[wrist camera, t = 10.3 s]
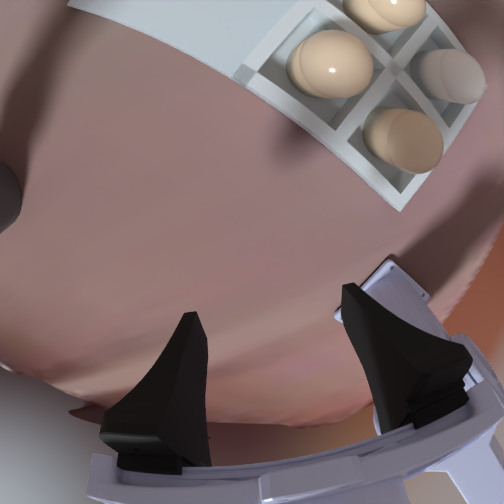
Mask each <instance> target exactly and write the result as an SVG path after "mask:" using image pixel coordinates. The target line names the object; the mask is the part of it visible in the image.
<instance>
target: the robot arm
mask: <svg viewBox="0 0 504 504" xmlns="http://www.w3.org/2000/svg"><path fill="white" fill-rule="evenodd" d="M391 266H392V267H391ZM390 267H391V268H390ZM429 298H430V295H429V294H428V293H427V292H426V291H425V290H424V289H423V288H422V287H421V286H420V285H419V284H418V283H416V282H415V281H414V280H413V279H412V278H411V277H410V276H409V275H408V274H407V273H406V272H404V271H403V270H402V269H401V268H400V267H399V266H398V265H397V264H396V263H394V262H393V261H392V260H391V259H388V260H386V261H385V262H384V263H383V264H382V265H381V266H380V267H379V268H378V270H377V271H376V272H375V273H374V274H373V275H372V276H371V277H370V278H369V279H368V280H367V281H366V282H365V283H364V284H363V285H362V286H361V288H360V287H359V286H357V285H356V284H355V283H349V284H345V285H342V301H341V308H340V309H339V310H338V311H336V312H335V314H334V317H335V319H336V320H338V321H340V322H342V323H343V324H344V327H345V330H346V332H347V334H348V337H349V339H350V341H351V343H352V345H353V347H354V349H355V351H356V353H357V355H358V357H359V360H360V362H361V364H362V366H363V368H364V371H365V374H366V377H367V380H368V383H369V386H370V389H371V393H372V396H373V400H374V404H375V406H374V417H373V419H374V426H375V429H376V432H377V434H378V436H376V437H373V438H370V439H367V440H365V441H361V442H358V443H355V444H351V445H348V446H344V447H341V448H337V449H333V450H329V451H325V452H321V453H317V454H312V455H307V456H302V457H297V458H292V459H286V460H279V461H273V462H265V463H257V464H248V465H236V466H220V467H212V465H211V458H210V451H209V444H208V435H207V423H206V408H205V392H206V378H207V365H208V345H207V337H206V335H205V332H204V330H203V327H202V325H201V322H200V319H199V317H198V314H197V312H196V311H194V312H187V313H184V314H183V316H182V318H181V320H180V322H179V324H178V326H177V328H176V329H175V331H174V333H173V335H172V337H171V338H170V340H169V342H168V344H167V345H166V347H165V349H164V350H163V352H162V353H161V355H160V356H159V358H158V359H157V361H156V362H155V364H154V365H153V366H152V368H151V369H150V370H149V372H148V373H147V374H146V375H145V376H144V378H143V379H142V380H141V381H140V382H139V383H138V384H137V385H136V386H135V387H134V388H133V389H132V390H131V391H130V392H129V393H128V394H127V395H126V396H125V397H124V398H123V399H121V400H120V401H119V402H118V403H116V404H115V405H114V406H112V407H111V408H110V409H108V410H107V411H106V412H105V413H104V416H103V419H102V424H101V429H100V435H99V437H100V439H101V440H102V441H103V442H104V443H105V444H107V445H108V446H109V447H111V448H112V449H114V450H115V451H117V452H118V458H116V457H113V456H108V455H103V454H97V453H93V454H92V458H91V464H90V470H89V477H88V484H87V491H86V495H87V496H88V497H90V498H93V499H96V500H98V501H101V502H104V503H107V504H410V503H409V499H408V496H407V492H406V489H405V486H404V483H403V482H404V481H406V480H408V479H410V478H412V477H414V476H416V475H418V474H420V473H422V472H424V471H439V472H447V473H448V475H449V476H450V478H451V479H452V481H453V482H454V484H455V485H456V487H457V488H458V490H459V491H460V493H461V494H462V496H463V497H464V499H465V500H466V502H467V503H468V504H504V451H503V449H502V447H501V446H500V444H499V442H498V441H497V439H496V437H495V436H494V433H495V430H496V428H497V426H498V424H499V422H500V421H501V420H502V419H503V418H504V389H503V387H502V385H501V383H500V382H499V380H498V379H497V376H496V374H495V372H494V370H493V369H492V367H491V365H490V364H489V362H488V361H487V359H486V358H485V356H484V355H483V354H482V352H481V351H480V350H479V348H478V347H477V346H476V345H475V344H474V342H473V341H472V340H471V339H470V338H469V337H468V336H467V335H466V334H458V333H456V334H455V335H454V336H453V337H452V338H451V337H450V336H449V334H448V333H447V332H446V330H445V329H444V327H443V326H442V324H441V323H440V322H439V320H438V319H437V318H436V316H435V315H434V313H433V312H432V311H431V309H430V308H429V307H428V305H427V304H426V302H427V301H428V300H429Z"/></svg>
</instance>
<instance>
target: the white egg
mask: <svg viewBox="0 0 504 504" xmlns="http://www.w3.org/2000/svg"><path fill="white" fill-rule="evenodd" d="M410 71H411V77H412V80H413V81H414V83H415V84H416V85H417V86H418V87H419V89H420V90H421V91H422V92H423V93H424V95H425V96H426V97H427V98H429V99H434V100H441V101H447V102H453V103H459V104H472V103H475V102H477V101H478V100H480V98H481V97H482V96H483V94H484V92H485V89H486V78H485V74H484V71H483V69H482V67H481V66H480V64H479V63H478V62H477V60H476V59H475V58H474V57H472V56H471V55H470V54H468V53H467V52H464V51H462V50H459V49H440V50H428V51H420V52H418V53H416V54H415V55H414V57H413V58H412V61H411V65H410Z"/></svg>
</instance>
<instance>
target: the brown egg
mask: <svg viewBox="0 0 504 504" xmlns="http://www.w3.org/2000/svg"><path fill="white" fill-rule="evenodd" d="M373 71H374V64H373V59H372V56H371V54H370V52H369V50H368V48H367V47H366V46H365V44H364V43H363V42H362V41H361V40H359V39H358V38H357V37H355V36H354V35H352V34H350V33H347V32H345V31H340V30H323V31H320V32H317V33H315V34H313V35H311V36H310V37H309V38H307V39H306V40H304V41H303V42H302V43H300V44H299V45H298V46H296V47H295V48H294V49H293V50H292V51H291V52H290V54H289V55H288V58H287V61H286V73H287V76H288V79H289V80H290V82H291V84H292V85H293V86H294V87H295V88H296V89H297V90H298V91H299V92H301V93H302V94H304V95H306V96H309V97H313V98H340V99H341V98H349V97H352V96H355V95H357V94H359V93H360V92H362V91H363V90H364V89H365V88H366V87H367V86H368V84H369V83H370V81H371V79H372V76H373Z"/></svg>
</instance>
